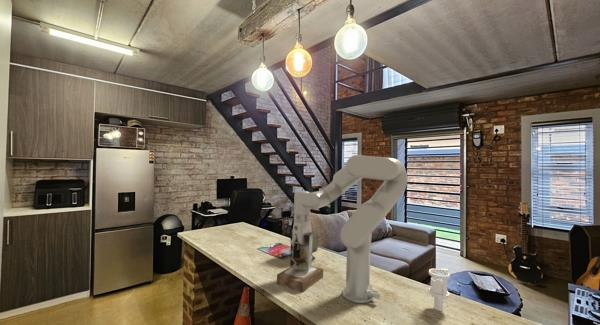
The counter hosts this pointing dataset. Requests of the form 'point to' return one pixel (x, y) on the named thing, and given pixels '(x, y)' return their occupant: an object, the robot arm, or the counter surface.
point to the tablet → (277, 250)
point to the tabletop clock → (313, 240)
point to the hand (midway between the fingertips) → (301, 254)
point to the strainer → (439, 287)
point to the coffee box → (303, 254)
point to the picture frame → (299, 278)
